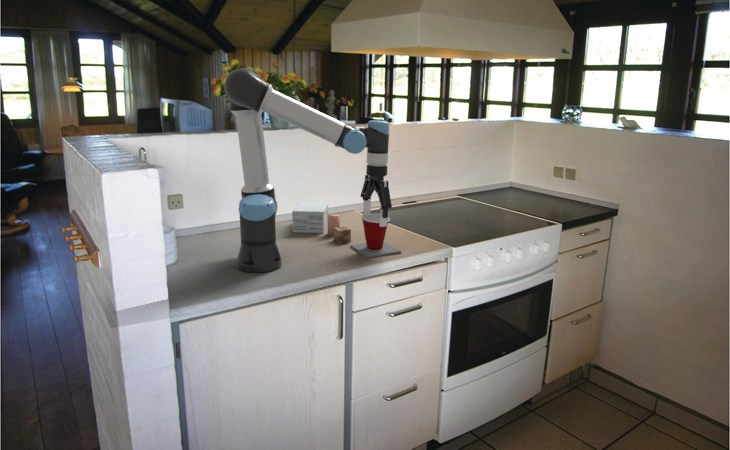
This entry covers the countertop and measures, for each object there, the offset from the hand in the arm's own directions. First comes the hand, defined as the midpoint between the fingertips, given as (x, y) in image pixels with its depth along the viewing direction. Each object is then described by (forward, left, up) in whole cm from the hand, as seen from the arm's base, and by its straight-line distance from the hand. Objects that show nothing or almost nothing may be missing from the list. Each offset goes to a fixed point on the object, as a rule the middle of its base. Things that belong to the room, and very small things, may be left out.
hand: (374, 221), depth 202 cm
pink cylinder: (-6, +26, -11) cm, 29 cm away
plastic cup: (0, 0, -10) cm, 10 cm away
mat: (0, 0, -11) cm, 11 cm away
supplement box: (-11, +39, -11) cm, 42 cm away
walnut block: (-6, +16, -11) cm, 20 cm away
